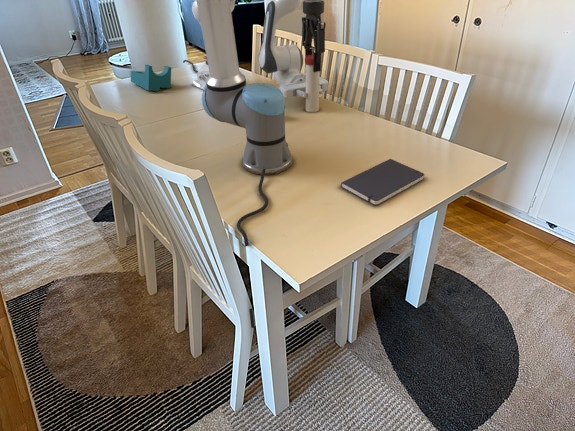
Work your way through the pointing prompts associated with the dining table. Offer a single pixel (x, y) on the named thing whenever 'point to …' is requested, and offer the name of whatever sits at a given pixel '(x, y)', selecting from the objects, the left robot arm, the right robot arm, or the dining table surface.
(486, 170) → the dining table surface
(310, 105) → the jar
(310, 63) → the lid
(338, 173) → the dining table surface
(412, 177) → the notebook
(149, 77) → the teal notched cradle block
